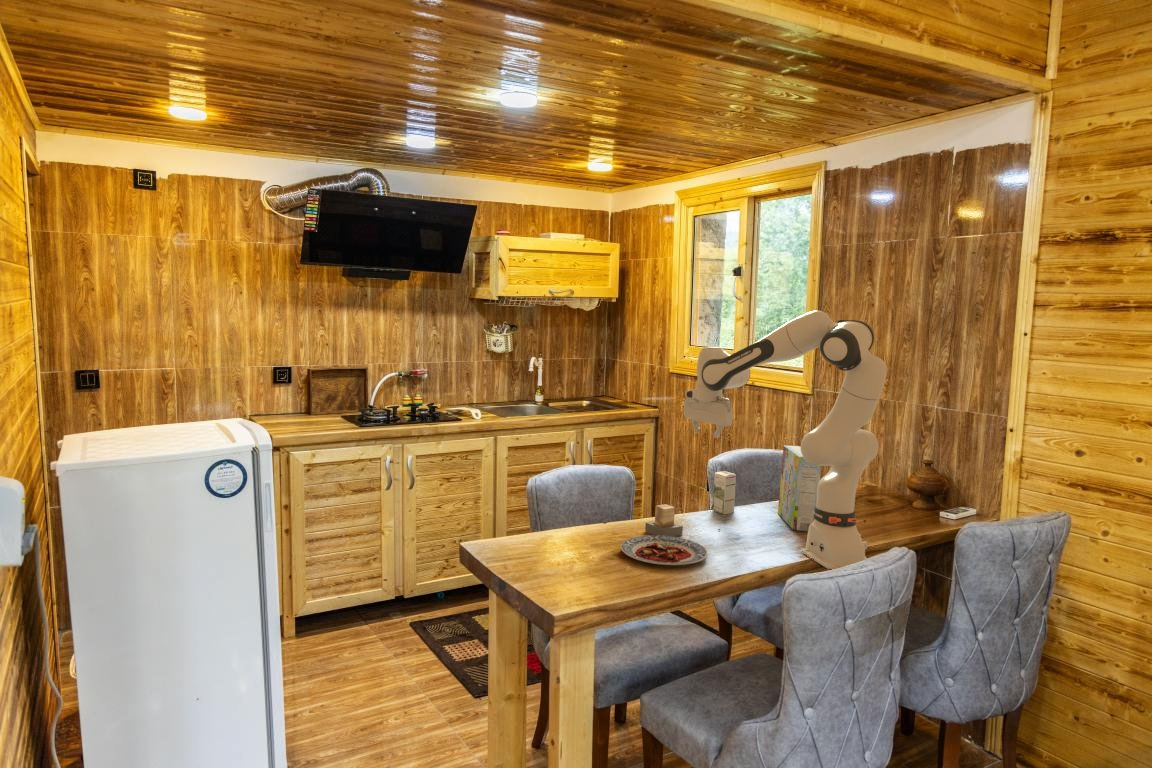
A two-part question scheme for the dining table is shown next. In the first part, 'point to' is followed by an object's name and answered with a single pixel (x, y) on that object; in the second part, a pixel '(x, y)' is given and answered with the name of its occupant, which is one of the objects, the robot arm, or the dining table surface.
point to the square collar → (663, 529)
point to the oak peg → (664, 515)
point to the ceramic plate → (664, 550)
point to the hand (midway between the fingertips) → (706, 435)
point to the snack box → (798, 489)
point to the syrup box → (724, 492)
